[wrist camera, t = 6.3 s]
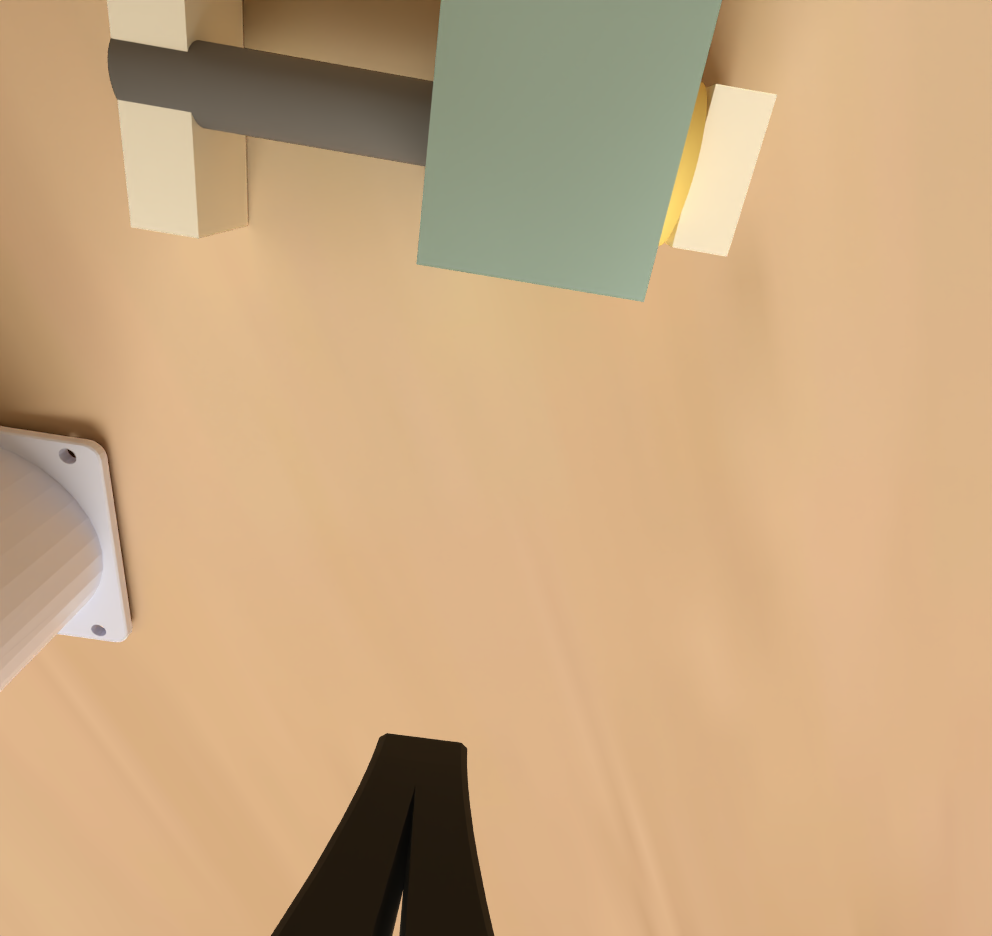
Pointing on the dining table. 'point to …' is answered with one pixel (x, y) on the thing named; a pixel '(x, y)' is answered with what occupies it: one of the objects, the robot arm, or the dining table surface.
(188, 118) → the cream rectangular block
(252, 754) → the dining table surface
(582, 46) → the sage green block
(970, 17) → the dining table surface
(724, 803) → the dining table surface
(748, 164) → the cream block
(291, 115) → the rod
